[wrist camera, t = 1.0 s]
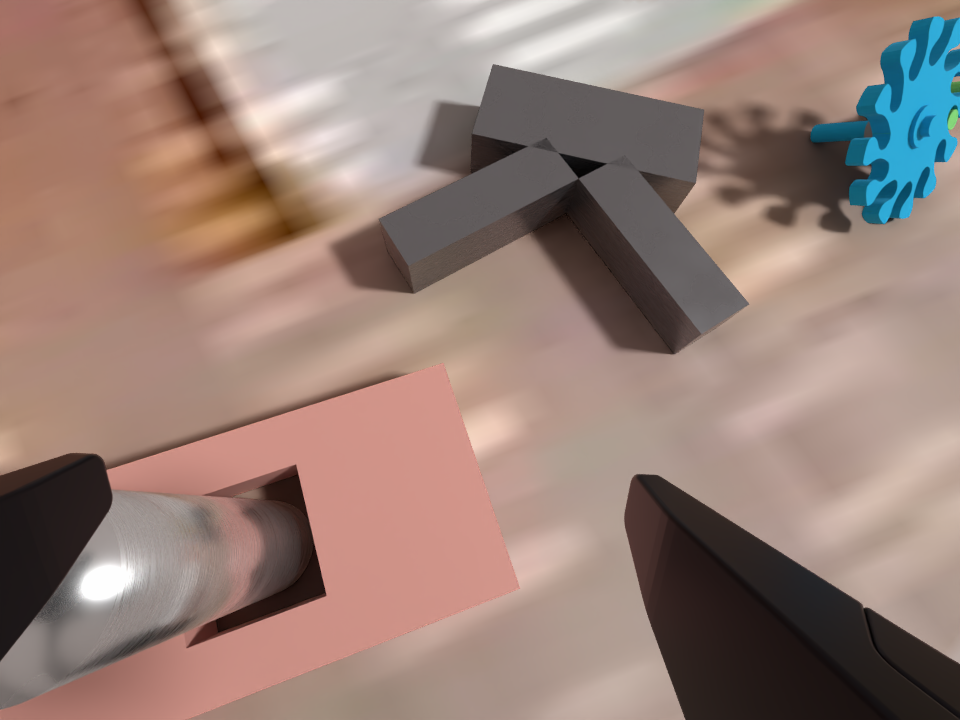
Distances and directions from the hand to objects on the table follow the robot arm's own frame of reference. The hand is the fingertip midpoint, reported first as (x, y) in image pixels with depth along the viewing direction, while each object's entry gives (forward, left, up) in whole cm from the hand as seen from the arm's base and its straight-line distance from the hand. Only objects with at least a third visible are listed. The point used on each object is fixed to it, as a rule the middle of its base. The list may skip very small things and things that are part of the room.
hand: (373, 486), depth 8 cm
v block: (+16, -7, -15) cm, 23 cm away
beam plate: (-2, +7, -15) cm, 17 cm away
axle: (-2, +7, -15) cm, 17 cm away
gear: (+21, -25, -15) cm, 36 cm away
